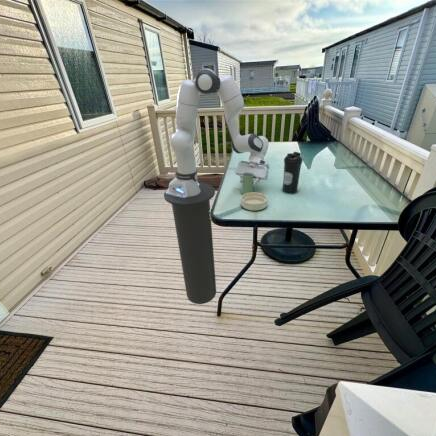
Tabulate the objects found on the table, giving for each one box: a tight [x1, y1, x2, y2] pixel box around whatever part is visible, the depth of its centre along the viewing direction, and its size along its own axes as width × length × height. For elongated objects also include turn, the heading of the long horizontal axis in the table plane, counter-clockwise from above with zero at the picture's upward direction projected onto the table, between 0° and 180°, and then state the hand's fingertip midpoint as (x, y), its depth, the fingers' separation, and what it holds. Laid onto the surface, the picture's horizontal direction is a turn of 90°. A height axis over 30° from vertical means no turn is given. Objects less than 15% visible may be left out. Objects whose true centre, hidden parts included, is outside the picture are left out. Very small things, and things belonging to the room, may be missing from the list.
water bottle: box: [282, 151, 304, 195], centre depth 143 cm, size 10×10×23 cm
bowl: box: [240, 191, 268, 212], centre depth 133 cm, size 14×14×4 cm
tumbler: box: [241, 173, 255, 195], centre depth 144 cm, size 7×7×12 cm
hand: (247, 183), depth 144 cm, fingers open, 7 cm apart
